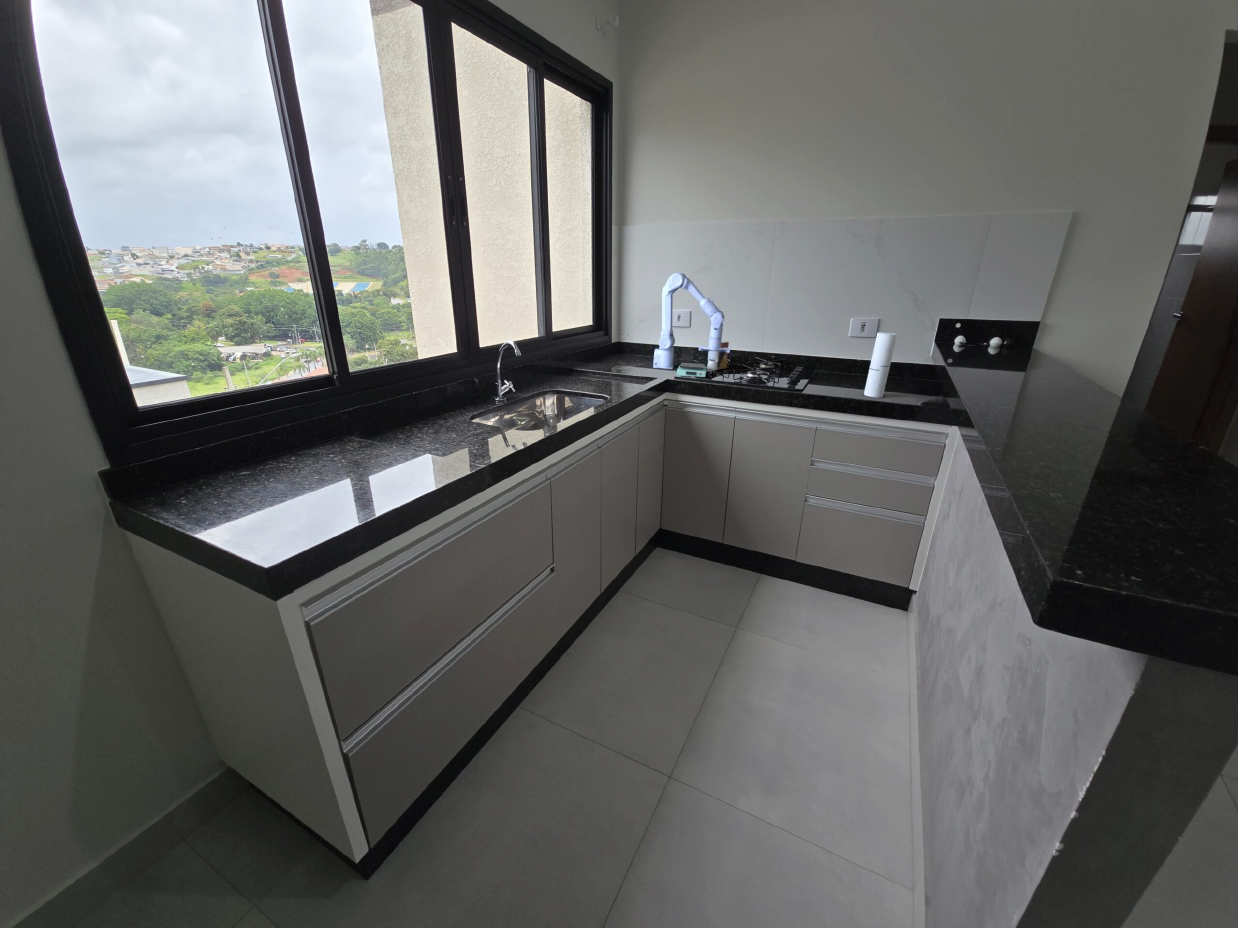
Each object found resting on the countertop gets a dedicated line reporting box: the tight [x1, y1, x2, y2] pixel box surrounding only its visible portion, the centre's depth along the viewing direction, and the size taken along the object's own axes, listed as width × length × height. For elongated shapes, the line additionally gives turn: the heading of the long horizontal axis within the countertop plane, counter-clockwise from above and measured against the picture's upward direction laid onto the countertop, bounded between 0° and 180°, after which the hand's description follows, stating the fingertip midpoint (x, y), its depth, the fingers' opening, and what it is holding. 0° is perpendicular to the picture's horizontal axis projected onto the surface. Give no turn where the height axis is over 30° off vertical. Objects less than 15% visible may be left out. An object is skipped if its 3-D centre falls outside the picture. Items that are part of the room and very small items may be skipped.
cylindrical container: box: [863, 331, 898, 398], centre depth 204 cm, size 7×7×25 cm
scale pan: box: [679, 362, 706, 369], centre depth 236 cm, size 11×9×1 cm
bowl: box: [706, 359, 719, 372], centre depth 243 cm, size 5×5×4 cm
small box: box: [708, 340, 730, 371], centre depth 251 cm, size 8×6×13 cm
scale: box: [676, 365, 708, 378], centre depth 237 cm, size 13×11×2 cm
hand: (712, 366), depth 243 cm, fingers closed on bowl, 5 cm apart
